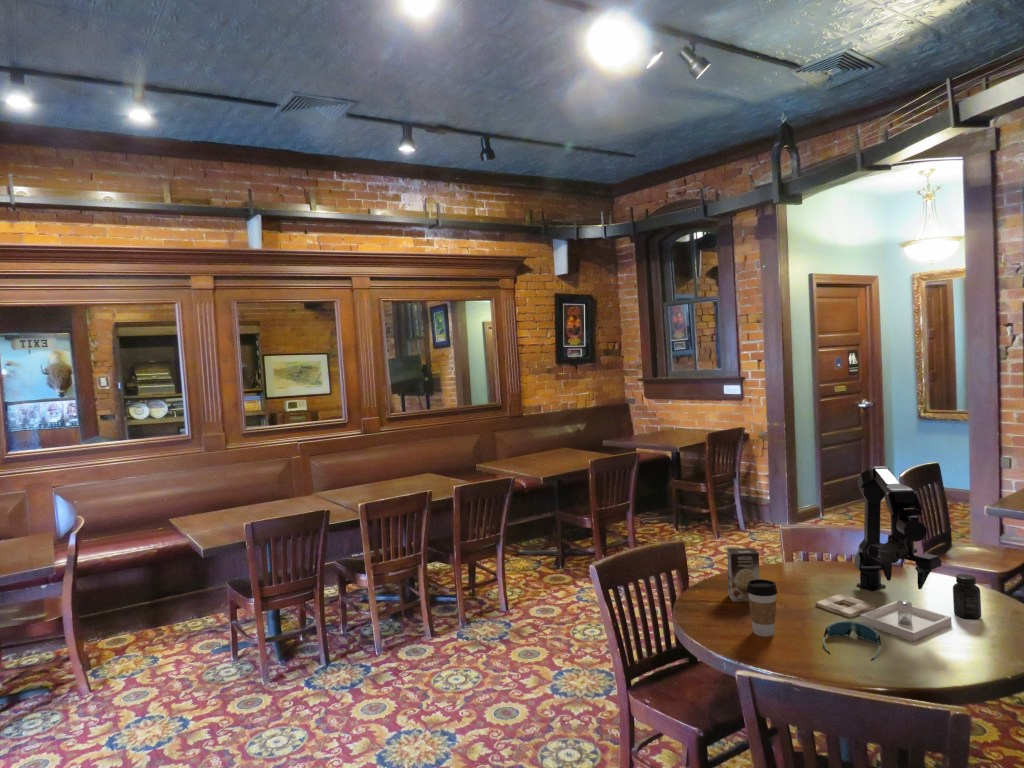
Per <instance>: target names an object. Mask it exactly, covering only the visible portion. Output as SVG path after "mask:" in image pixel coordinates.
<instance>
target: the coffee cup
mask: <svg viewBox="0 0 1024 768" xmlns="http://www.w3.org/2000/svg"><path fill="white" fill-rule="evenodd" d="M747 592H748V593H749V597H748V599H749V601H748V604H749V606H748V607H749V612H750V613H749V614H750V620H751V625H752V632H753V634H754V635H757V636H758V637H762V638H763V637H764V638H765V637H766V638H767V637H772V636H775V631H776V616H777V615H776V613H777V594H778V588H777V583H776V582H774V581H773V580H769V579H763V578H760V579H755V580H750V581H749V582H748V586H747Z"/></svg>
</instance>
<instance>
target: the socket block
mask: <svg viewBox="0 0 1024 768" xmlns="http://www.w3.org/2000/svg"><path fill="white" fill-rule="evenodd" d="M841 604H844V605H848V607H845V606H843V605H841ZM815 607H818V608H820V609H823V610H827V611H830V612H832V613H835V614H837V615H840V616H844V617H846V618H849V619H851V618H855V617H857V616H860V615H861V614H863V613H866V612H869V611H871V610H874V609H876V604H874V603H871V602H867V601H865V600H861V599H858V598H854V597H852V596H848V595H846V594H842V593H838V594H835V595H832V596H829V597H827V598H824V599H821V600H818V601H815Z"/></svg>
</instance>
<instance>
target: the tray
mask: <svg viewBox="0 0 1024 768" xmlns="http://www.w3.org/2000/svg"><path fill="white" fill-rule="evenodd" d="M897 601H898V600H896V601H893V602H890V603H888V604H885V605H882V606H880V607H877V608H875V609H873V610H870V611H867V612H865V613H862V614H859V619H860V620H859V622H860V623H863V624H866V625H868V626H870V627H872V628H873V629H875V630H876V629H877V630H880V631H883V632H885V633H887V634H888V633H889V634H891V635H894V636H895V637H900V638H902V639H906V640H908V641H911V642H918V641H919V639H920V640H922V639H924V638H927V637H929V636H931V635H933V634H936V633H938V632H940V631H942V630H943V631H944V630H945V629H947V628H950V627H952V622H953V621H952V617H951V616H949V615H945V614H942V613H939V612H936V611H932V610H928V609H926V608H922V607H919V606H915V605H913V604H912V624H911V625H902V624H900V623H898V609H897Z"/></svg>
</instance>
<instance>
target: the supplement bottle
mask: <svg viewBox="0 0 1024 768" xmlns="http://www.w3.org/2000/svg"><path fill="white" fill-rule="evenodd" d="M955 579H956V581H955V582H956V583H955V584H953V586H952V599H953V601H952V602H953V603H952V604H953V614H954V616H955V617H957V618H959V619H962V620H967V621H977V620H980V619H982V601H981V599H982V597H981V596H982V595H981V588H980V587H979V586H978V585H977V579H976V576H975V575H972V574H967V573H960V574H956V577H955Z"/></svg>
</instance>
